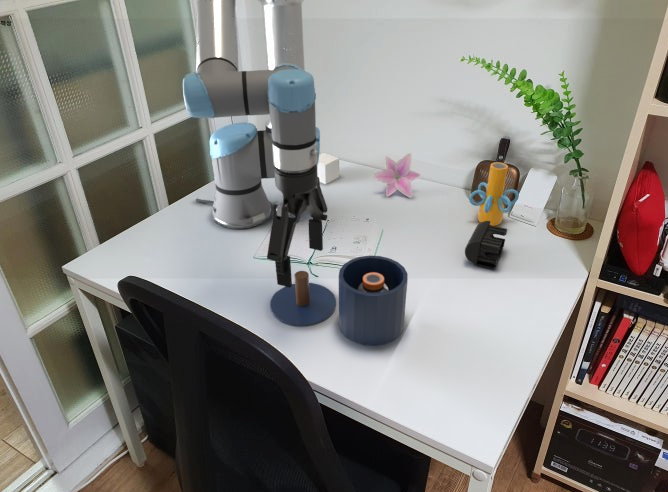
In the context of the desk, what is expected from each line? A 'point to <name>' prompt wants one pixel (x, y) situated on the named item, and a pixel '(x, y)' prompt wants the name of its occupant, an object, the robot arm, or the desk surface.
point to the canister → (372, 301)
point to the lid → (303, 302)
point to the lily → (398, 176)
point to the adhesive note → (327, 168)
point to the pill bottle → (373, 283)
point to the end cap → (485, 245)
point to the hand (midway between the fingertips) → (301, 266)
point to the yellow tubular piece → (494, 195)
